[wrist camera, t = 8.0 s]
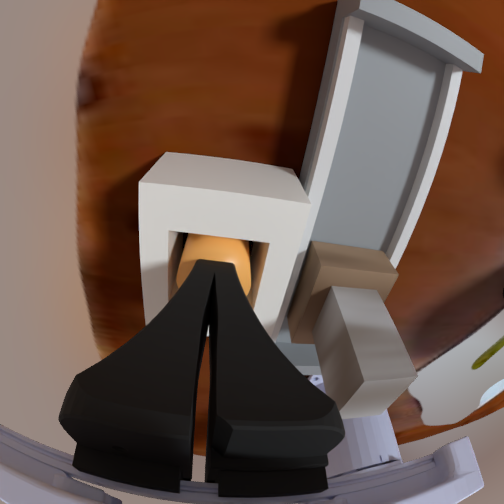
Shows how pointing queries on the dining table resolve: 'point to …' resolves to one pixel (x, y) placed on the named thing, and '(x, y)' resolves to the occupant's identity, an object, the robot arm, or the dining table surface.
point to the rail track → (375, 136)
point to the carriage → (351, 327)
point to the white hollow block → (220, 223)
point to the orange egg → (216, 256)
